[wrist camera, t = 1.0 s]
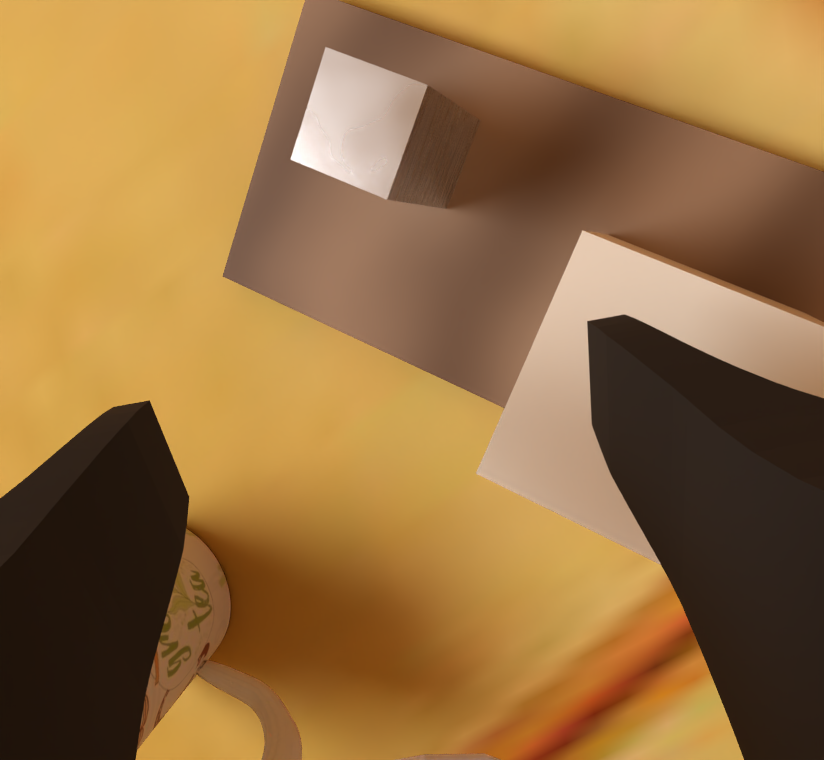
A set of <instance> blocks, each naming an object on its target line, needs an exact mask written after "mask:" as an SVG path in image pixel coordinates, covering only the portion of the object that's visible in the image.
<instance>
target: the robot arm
mask: <svg viewBox="0 0 824 760" xmlns="http://www.w3.org/2000/svg"><path fill="white" fill-rule="evenodd" d="M587 329H588V352H589V374H590V397H591V420H592V427H593V430H594V432H595V435H596V438H597V441H598V443H599V446H600V449H601V451H602V454H603V456H604V459H605V461H606V464H607V466H608V469H609V472H610V474H611V476H612V478H613V479H614V481H615V483H616V485H617V487H618V489H619V490H620V492H621V494H622V496H623V498H624V500H625V501H626V503H627V505H628V507H629V509H630V510H631V512H632V514H633V516H634V517H635V519H636V521H637V523H638V525H639V526H640V528H641V530H642V532H643V533H644V535H645V537H646V539H647V541H648V542H649V544H650V546H651V548H652V549H653V551H654V553H655V555H656V557H657V558H658V560H659V562H660V564H661V565H662V567H663V569H664V571H665V572H666V574H667V576H668V578H669V580H670V582H671V584H672V586H673V588H674V590H675V592H676V594H677V596H678V598H679V600H680V602H681V604H682V606H683V609H684V611H685V613H686V616H687V618H688V620H689V623H690V625H691V627H692V630H693V632H694V634H695V637H696V639H697V642H698V644H699V646H700V649H701V651H702V653H703V656H704V658H705V661H706V663H707V666H708V668H709V671H710V673H711V676H712V678H713V681H714V683H715V685H716V688H717V690H718V693H719V695H720V698H721V700H722V703H723V705H724V708H725V710H726V713H727V715H728V718H729V721H730V723H731V726H732V728H733V731H734V734H735V736H736V739H737V742H738V744H739V747H740V750H741V752H742V755H743V757H744V760H824V398H821V397H818V396H815V395H812V394H809V393H805V392H802V391H799V390H796V389H793V388H790V387H787V386H784V385H782V384H779V383H776V382H773V381H771V380H768V379H766V378H763V377H761V376H758V375H756V374H753V373H751V372H748V371H746V370H743V369H741V368H738V367H736V366H734V365H732V364H729V363H727V362H725V361H723V360H720V359H718V358H716V357H714V356H712V355H709V354H707V353H705V352H703V351H701V350H699V349H697V348H695V347H693V346H690V345H688V344H686V343H684V342H682V341H680V340H678V339H676V338H674V337H672V336H670V335H668V334H666V333H664V332H662V331H660V330H658V329H656V328H654V327H652V326H650V325H648V324H646V323H644V322H642V321H640V320H637V319H635V318H633V317H630V316H628V315H625V314H624V315H618V316H613V317H607V318H602V319H596V320H591V321H587ZM188 504H189V496H188V493H187V491H186V488H185V486H184V483H183V481H182V479H181V476H180V474H179V471H178V469H177V466H176V464H175V462H174V459H173V457H172V454H171V452H170V449H169V447H168V444H167V442H166V440H165V437H164V435H163V432H162V430H161V427H160V425H159V423H158V420H157V418H156V415H155V413H154V410H153V408H152V406H151V403H150V401H144V402H139V403H133V404H128V405H122V406H117V407H113V408H111V409H110V410H108V411H106V412H105V413H103V414H102V415H101V416H99V417H98V418H97V419H96V420H94V421H93V422H92V423H90V424H89V425H88V426H87V427H86V428H84V429H83V430H82V431H81V432H80V433H78V434H77V435H76V436H75V437H74V438H72V439H71V440H70V441H69V442H68V443H67V444H65V445H64V446H63V447H62V448H61V449H60V450H58V451H57V452H56V453H55V454H54V455H53V456H51V457H50V458H49V459H48V460H47V461H45V462H44V463H43V464H42V465H41V466H40V467H38V468H37V469H36V470H35V471H34V472H33V473H31V474H30V475H29V476H28V477H27V478H25V479H24V480H23V481H22V482H21V483H19V484H18V485H17V486H16V487H14V488H13V489H12V490H10V491H9V492H8V493H7V494H5V495H4V496H3V497H2V498H0V760H135V759H136V753H137V746H138V740H139V733H140V727H141V720H142V714H143V707H144V701H145V695H146V691H147V686H148V682H149V678H150V673H151V669H152V665H153V661H154V658H155V654H156V651H157V647H158V643H159V640H160V636H161V632H162V629H163V625H164V621H165V618H166V614H167V610H168V607H169V603H170V599H171V596H172V592H173V588H174V585H175V581H176V577H177V573H178V569H179V566H180V562H181V558H182V554H183V549H184V542H185V534H186V526H187V515H188ZM397 760H500V759H498V758H495V757H492V756H490V755H487V754H427V755H419V756H414V757H408V758H402V759H397Z"/></svg>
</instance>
